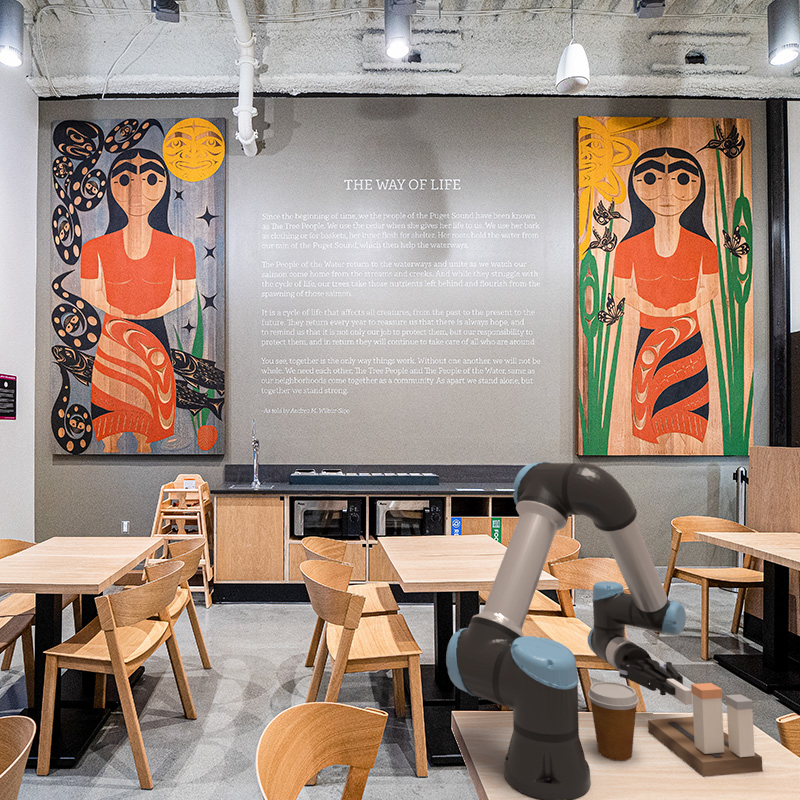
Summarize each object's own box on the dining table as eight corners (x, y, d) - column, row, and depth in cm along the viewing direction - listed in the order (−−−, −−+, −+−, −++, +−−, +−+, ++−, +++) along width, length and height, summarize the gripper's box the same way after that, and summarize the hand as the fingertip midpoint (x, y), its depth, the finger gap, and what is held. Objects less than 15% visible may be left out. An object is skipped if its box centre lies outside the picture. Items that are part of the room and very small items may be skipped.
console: (648, 732, 129) (647, 715, 129) (700, 728, 131) (699, 711, 131) (703, 776, 111) (702, 756, 111) (762, 771, 113) (761, 751, 113)
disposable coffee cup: (645, 767, 114) (642, 700, 115) (592, 762, 116) (590, 697, 117) (636, 744, 124) (633, 682, 125) (587, 739, 126) (585, 679, 127)
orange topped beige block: (693, 746, 117) (691, 684, 118) (713, 744, 117) (710, 682, 118) (704, 754, 114) (701, 690, 115) (725, 752, 114) (722, 689, 115)
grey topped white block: (728, 749, 116) (725, 695, 116) (743, 747, 116) (740, 694, 117) (740, 757, 112) (737, 702, 113) (755, 756, 113) (752, 700, 114)
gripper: (655, 673, 146) (719, 714, 123) (603, 676, 145) (659, 719, 121) (653, 641, 147) (717, 676, 124) (602, 643, 145) (657, 680, 122)
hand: (688, 697), depth 123 cm, fingers closed
